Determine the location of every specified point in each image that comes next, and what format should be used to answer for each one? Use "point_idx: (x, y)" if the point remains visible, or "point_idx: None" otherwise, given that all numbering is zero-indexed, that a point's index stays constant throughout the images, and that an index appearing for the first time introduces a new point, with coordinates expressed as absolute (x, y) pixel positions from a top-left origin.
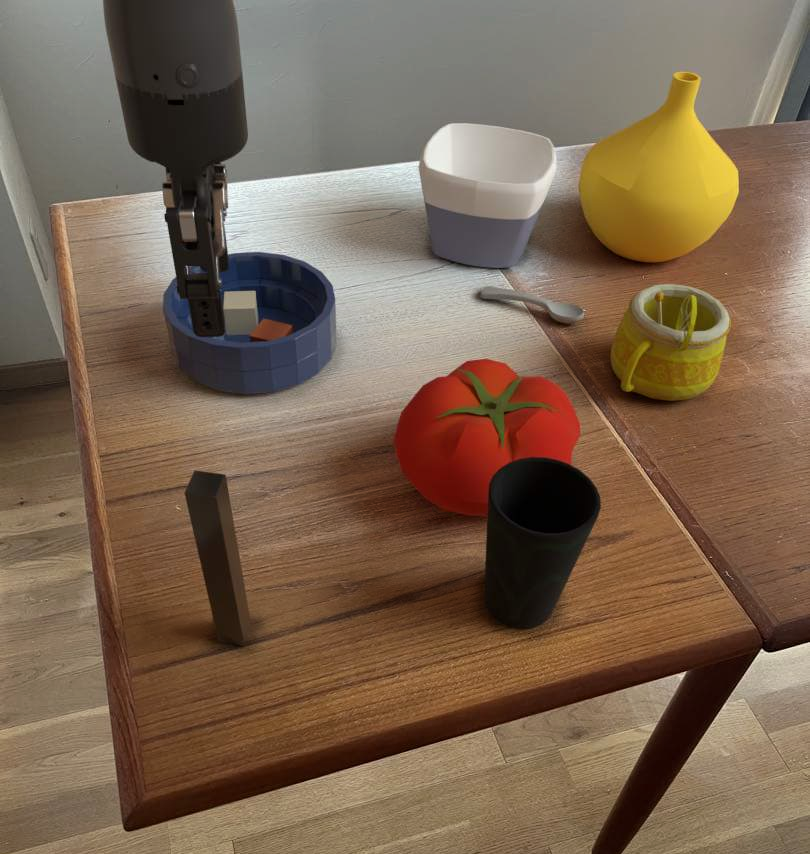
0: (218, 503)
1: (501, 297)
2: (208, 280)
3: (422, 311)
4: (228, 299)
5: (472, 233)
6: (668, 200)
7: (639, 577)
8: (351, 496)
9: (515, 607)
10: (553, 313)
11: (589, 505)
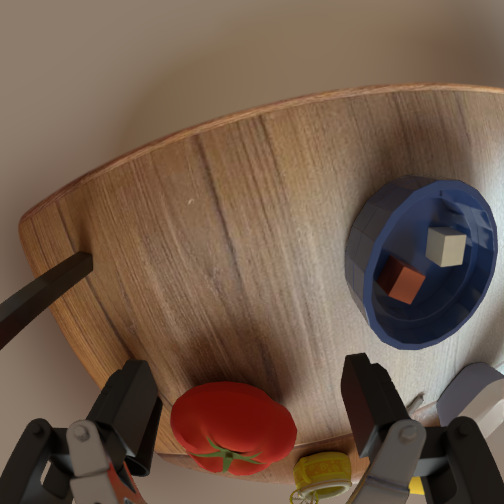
0: None
1: (409, 409)
2: (48, 472)
3: (419, 369)
4: (456, 239)
5: (455, 403)
6: (410, 483)
7: (172, 437)
8: (213, 336)
9: None
10: None
11: (130, 467)
